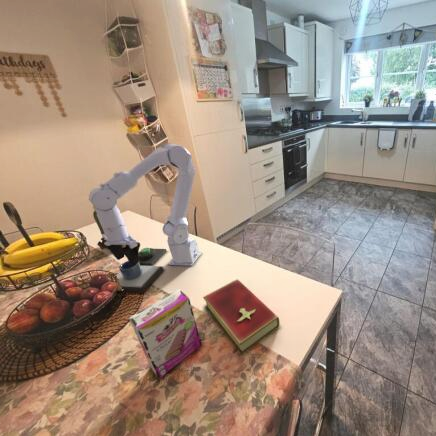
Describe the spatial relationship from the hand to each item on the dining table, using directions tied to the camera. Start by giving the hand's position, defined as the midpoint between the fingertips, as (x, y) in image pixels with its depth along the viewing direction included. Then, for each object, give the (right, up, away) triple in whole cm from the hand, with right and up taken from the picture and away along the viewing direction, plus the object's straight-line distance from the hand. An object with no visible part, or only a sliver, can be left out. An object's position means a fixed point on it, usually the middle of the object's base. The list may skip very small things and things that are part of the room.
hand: (127, 260), depth 82 cm
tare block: (-2, -2, +16) cm, 16 cm away
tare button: (-2, +1, +14) cm, 15 cm away
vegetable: (-27, +13, +24) cm, 38 cm away
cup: (0, -5, +3) cm, 6 cm away
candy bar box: (+28, -20, -23) cm, 41 cm away
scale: (0, -8, +4) cm, 8 cm away
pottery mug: (-21, +2, +25) cm, 33 cm away
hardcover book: (+41, -14, -12) cm, 45 cm away
